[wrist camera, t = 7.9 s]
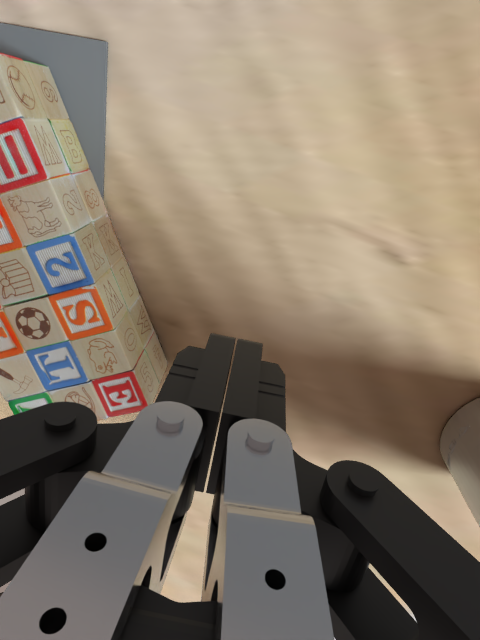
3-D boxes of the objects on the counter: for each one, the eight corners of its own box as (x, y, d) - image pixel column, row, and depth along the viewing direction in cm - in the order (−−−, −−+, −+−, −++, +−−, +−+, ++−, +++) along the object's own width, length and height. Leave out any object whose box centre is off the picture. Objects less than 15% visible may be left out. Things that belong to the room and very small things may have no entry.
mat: (108, 42, 26) (106, 41, 25) (99, 340, 34) (97, 342, 34) (-79, 9, 26) (-82, 8, 25) (-43, 317, 34) (-45, 318, 33)
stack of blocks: (152, 411, 28) (-11, 448, 30) (171, 363, 34) (32, 397, 36) (-12, 45, 20) (-221, 126, 22) (48, 62, 26) (-122, 126, 28)
